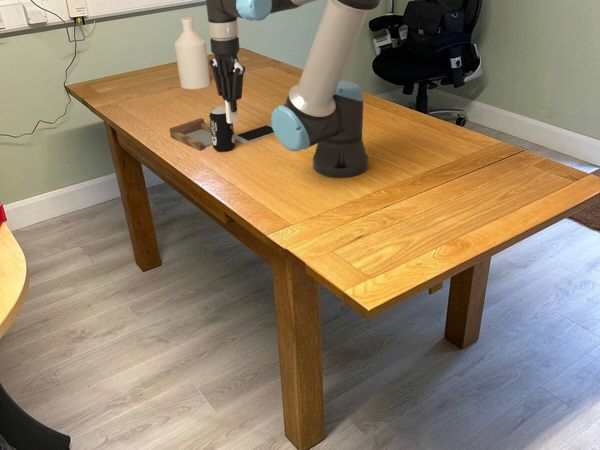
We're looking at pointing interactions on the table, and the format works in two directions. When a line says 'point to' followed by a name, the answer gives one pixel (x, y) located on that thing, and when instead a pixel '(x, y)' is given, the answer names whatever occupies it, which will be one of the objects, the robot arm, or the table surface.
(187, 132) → the walnut U-rest
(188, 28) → the bottle
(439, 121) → the table surface
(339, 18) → the robot arm
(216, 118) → the beverage can
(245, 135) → the smartphone
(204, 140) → the grey rubber pad
